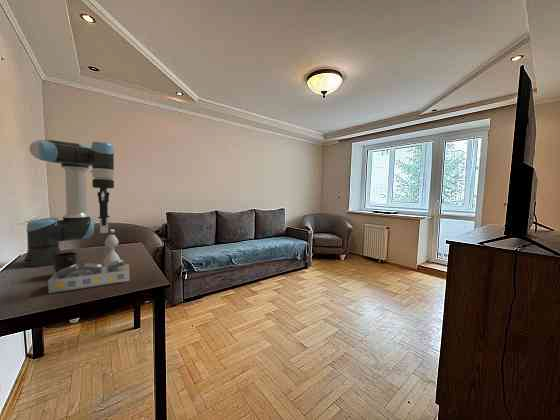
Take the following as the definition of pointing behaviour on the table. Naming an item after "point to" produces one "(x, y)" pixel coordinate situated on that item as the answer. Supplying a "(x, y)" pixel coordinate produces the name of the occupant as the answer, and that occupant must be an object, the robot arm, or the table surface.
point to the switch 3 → (115, 264)
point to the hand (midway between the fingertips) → (104, 232)
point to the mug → (64, 260)
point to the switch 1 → (67, 270)
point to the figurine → (111, 249)
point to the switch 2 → (92, 267)
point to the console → (88, 278)
